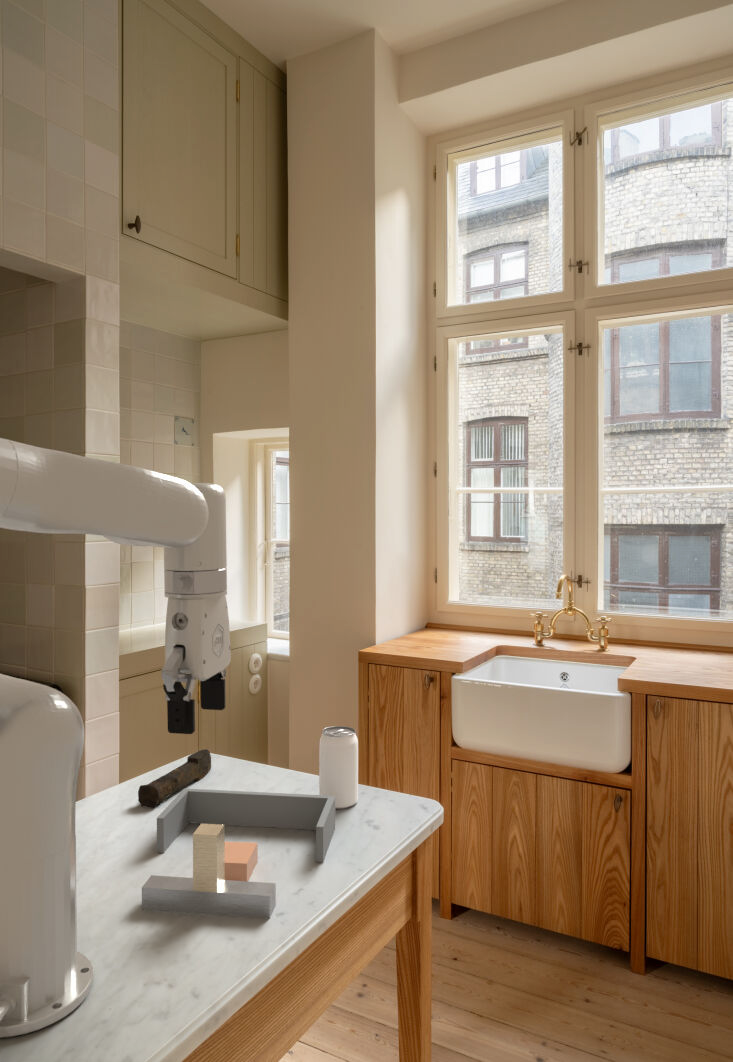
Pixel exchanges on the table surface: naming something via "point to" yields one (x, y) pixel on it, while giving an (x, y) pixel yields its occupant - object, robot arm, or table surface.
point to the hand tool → (175, 779)
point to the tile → (240, 860)
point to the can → (339, 765)
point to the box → (249, 813)
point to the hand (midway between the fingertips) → (198, 720)
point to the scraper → (209, 884)
